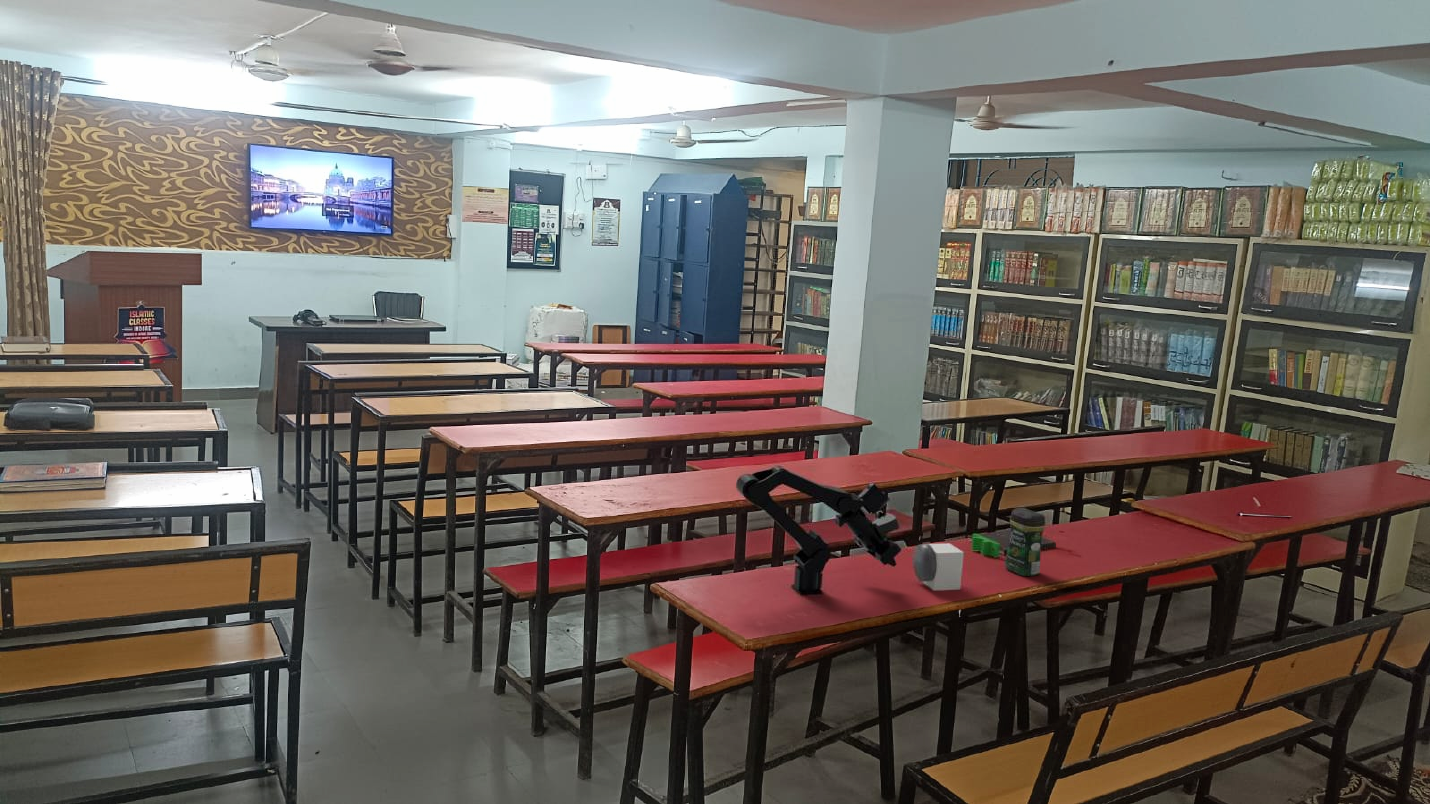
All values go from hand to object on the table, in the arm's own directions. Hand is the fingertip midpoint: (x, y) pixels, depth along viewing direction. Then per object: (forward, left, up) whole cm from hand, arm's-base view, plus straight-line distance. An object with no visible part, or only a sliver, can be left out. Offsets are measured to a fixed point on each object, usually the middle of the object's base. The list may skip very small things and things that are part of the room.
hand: (894, 565), depth 266 cm
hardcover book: (+59, +28, -7) cm, 66 cm away
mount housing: (+14, -1, -6) cm, 15 cm away
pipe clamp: (+44, +23, -7) cm, 50 cm away
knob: (+11, -1, -5) cm, 12 cm away
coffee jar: (+45, +4, -6) cm, 46 cm away
